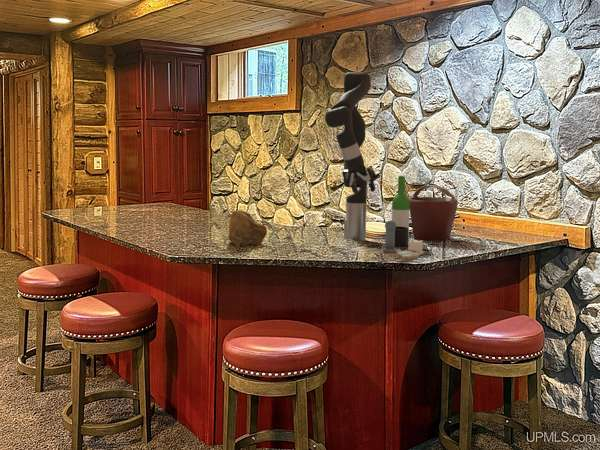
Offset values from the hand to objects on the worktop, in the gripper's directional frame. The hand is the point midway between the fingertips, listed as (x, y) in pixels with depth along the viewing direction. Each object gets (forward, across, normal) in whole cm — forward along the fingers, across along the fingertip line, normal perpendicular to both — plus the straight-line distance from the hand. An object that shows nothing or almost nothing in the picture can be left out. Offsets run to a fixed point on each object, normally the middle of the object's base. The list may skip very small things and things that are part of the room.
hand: (364, 191), depth 268 cm
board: (+23, -7, +12) cm, 27 cm away
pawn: (+22, -10, +11) cm, 27 cm away
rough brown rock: (+8, +50, +26) cm, 57 cm away
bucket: (+42, +2, -37) cm, 56 cm away
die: (+29, -14, 0) cm, 32 cm away
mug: (+29, -2, -5) cm, 30 cm away
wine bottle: (+33, +3, -15) cm, 36 cm away
